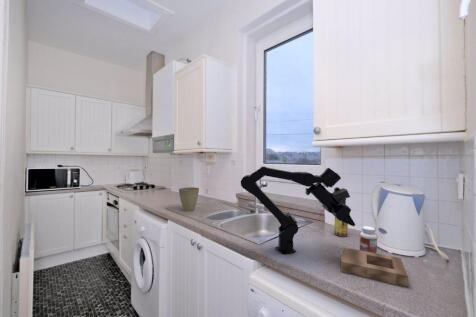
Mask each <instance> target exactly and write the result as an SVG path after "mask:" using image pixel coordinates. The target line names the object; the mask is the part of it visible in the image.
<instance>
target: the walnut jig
mask: <svg viewBox="0 0 476 317" xmlns="http://www.w3.org/2000/svg"><path fill="white" fill-rule="evenodd" d="M402 260H403V259H402V258H401V257H396V256H391V255H386V254H380V253H377V254H376V253H371V252H366V251H360V249H354V248H349V247H345V246H344V247H343V249H342V254H341V258H340V272H341V273H347V274H350V275H355V276H359V277H363V278H368V279H372V280H375V281H379V282H383V283H389V284H392V285H397V286H401V287H405V288H408V286H409V275H408V273H407V271H406V270H407V269H406V268H405V265H404V263H403V262H404V261H402Z"/></svg>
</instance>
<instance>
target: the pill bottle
mask: <svg viewBox="0 0 476 317" xmlns="http://www.w3.org/2000/svg"><path fill="white" fill-rule="evenodd" d="M359 250H360V251H366V252H371V253H376V254H378V236H377V234H376V229H375V227H374V226H373V227H372V226H370V225H369V226H367V225H364V226H363V225H362V228H361V232H360V234H359Z"/></svg>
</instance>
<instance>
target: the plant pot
mask: <svg viewBox="0 0 476 317" xmlns="http://www.w3.org/2000/svg"><path fill="white" fill-rule="evenodd" d="M178 192H179V193H178V194H179V197H180V198H179V199H180V202H181V205H182V208H183V211H184V212H192V211H195V208H196V205H197V202H198V198H199V194H200V193H199V192H200V188H199V187H194V186H193V187H192V186H191V187H187V186H186V187H181V188H178Z"/></svg>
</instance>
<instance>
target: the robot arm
mask: <svg viewBox="0 0 476 317" xmlns="http://www.w3.org/2000/svg"><path fill="white" fill-rule="evenodd" d="M264 177H270V178H277V179H280V180H286V181H290V182H294V183H296V184H299V185H301V186H304V187H305V193H304V194H306V195H307V196H309V195H310V194H311V195H313V196H314V198H316V200H317V201H318V202H319V203H320V204H321V205H322V207H323V209H325V211H327V212H328V213H330V214H331V215H333V217H334V218H335V217H336V218H337V219H338V220H339V221H342V222H344V223H347V224H348V226H351V227H355V226H356V223H355V221H354V219H353V218H352V216H351V214H350V213H351V212H352V209H351V207H349V206H348V205H347V204H346V205H345V204H340V203H341V201H340V200H343V199H345V198H346V199H348V198H351V195H350V193H349V190H348V189H346V188H344V187H343V188H340V187H334V186H335V185H336V184H337V183H339V181H341V179H342V177H341V176H340V175H339V174H338V172H335V171H334V170H332V169H331V167H327V168H325V170H324V171H323V172H322V173H321V174H320V175H314V174H313V173H311V172H307V171H290V170H283V169H278V168H273V167H272V168H271V167H269V166H261V167H259V168H258V169H256V170H255V171H254V172H252V173H250V174H247V175H244V176H243V177H242V178H241V180H240V186H241V188H242V189H243V190H245V191H246V192H248V193H249V194H251V195H252V196H254V197H255V198H256V199H257V200H258V201H259V202H260V203H261V204H262V205H263V206H264V207H265V209H266V210H268V211H269V212H270V213H271V214H272V216H274V218H275V219H277V221H278V223H279V224H280V226H278V227H277V228H278V237H277V238H278V244H277V245H278V246H275V249H276V250H277V251H278V252H279V253H281V254H283V255H287V254H291V253H296V252H297V251H296V249H294V238H295V235H296V234H297V233H298V232H299V226H298V224H297V223H298V221H297V220H296V218H295V216H292V214H291V213H290V212H289V211H288V212H287V213H285V211H282V210H281V208H280V207H279V206H278V205H276V203H275V202H274V201H273V200H272V198H270V197H269V196H268V195H267V194H266V193H265V192H264V191H263V190H262V189H261V187H260V186H259V184H258V181H260V180H261V179H262V178H264ZM307 187H308V188H307ZM333 187H334V188H333ZM328 188H333V192H331V191H330V190H328ZM339 204H340V205H339Z"/></svg>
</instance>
